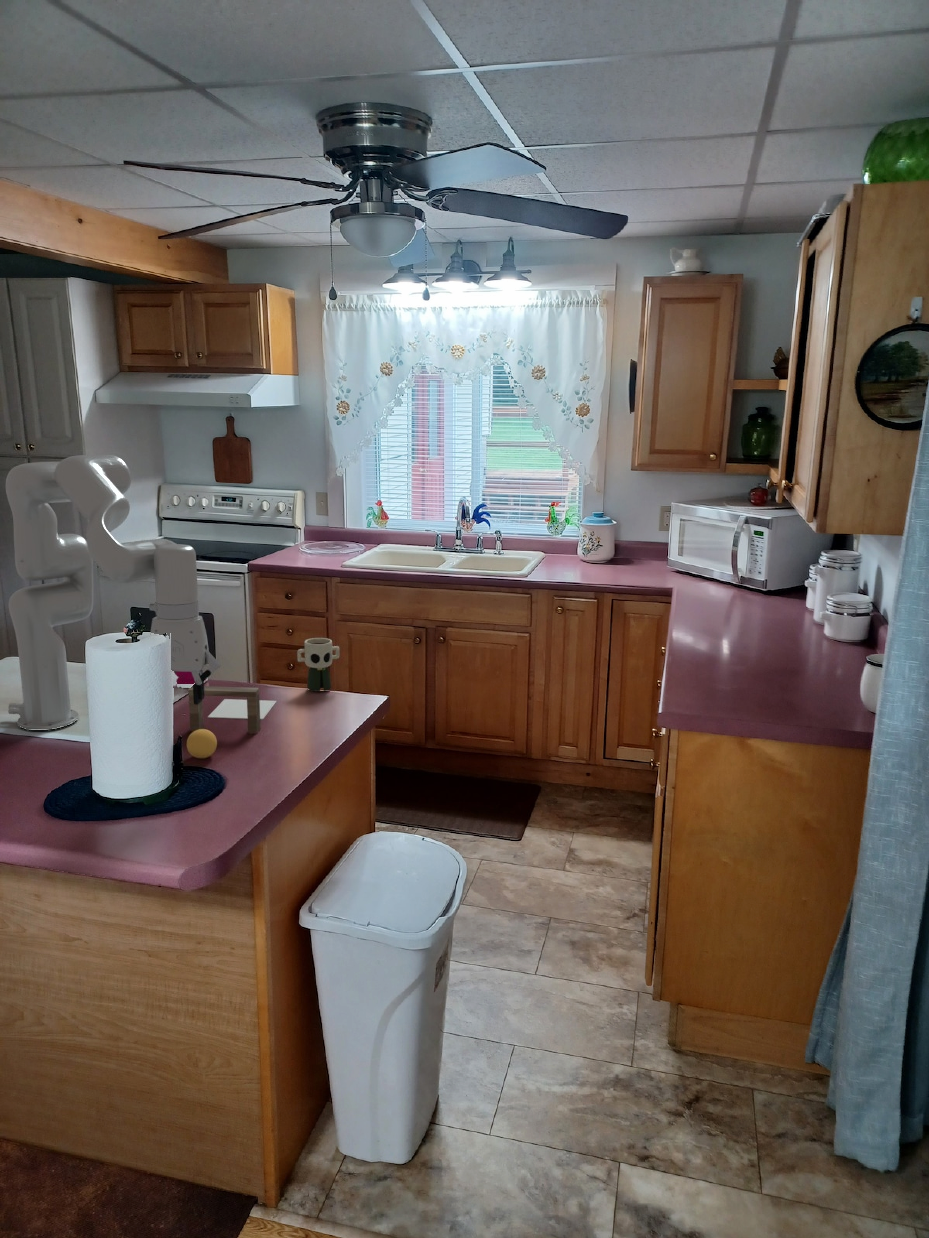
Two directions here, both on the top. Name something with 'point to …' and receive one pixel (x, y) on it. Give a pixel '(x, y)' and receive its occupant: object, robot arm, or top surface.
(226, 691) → the bridge
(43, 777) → the top surface
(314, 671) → the character mug
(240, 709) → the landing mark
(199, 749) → the ball
